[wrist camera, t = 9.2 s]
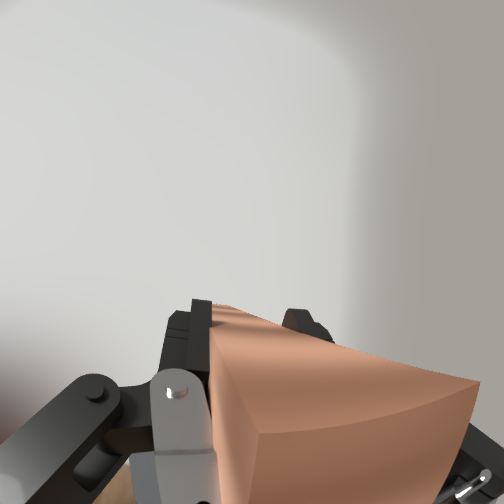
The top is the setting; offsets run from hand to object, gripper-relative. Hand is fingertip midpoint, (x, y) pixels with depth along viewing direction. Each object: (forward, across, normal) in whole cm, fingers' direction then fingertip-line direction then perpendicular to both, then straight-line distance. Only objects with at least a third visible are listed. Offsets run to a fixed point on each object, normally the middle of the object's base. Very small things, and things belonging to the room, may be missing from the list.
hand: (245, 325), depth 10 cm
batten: (+3, 0, +5) cm, 5 cm away
